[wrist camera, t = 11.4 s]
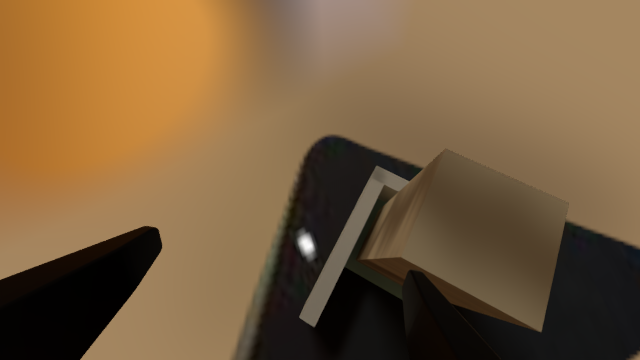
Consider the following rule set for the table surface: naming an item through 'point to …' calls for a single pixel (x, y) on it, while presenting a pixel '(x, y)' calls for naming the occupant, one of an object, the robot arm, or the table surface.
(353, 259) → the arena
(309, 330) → the table surface
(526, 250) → the maple block
